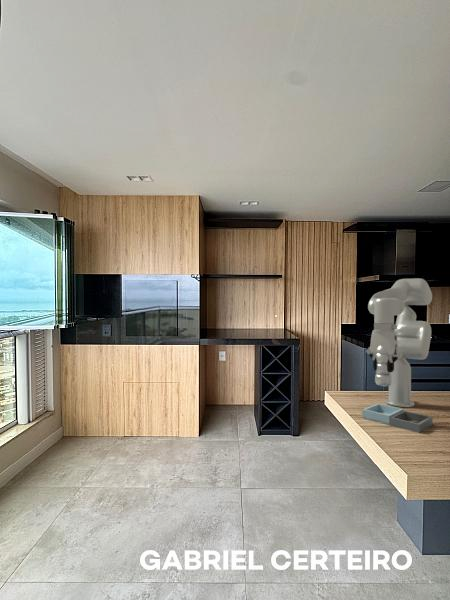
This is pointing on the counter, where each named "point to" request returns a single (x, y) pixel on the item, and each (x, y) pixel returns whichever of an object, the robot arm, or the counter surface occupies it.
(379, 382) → the plastic bottle
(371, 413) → the bin
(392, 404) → the robot arm
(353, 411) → the counter surface
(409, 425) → the bin
